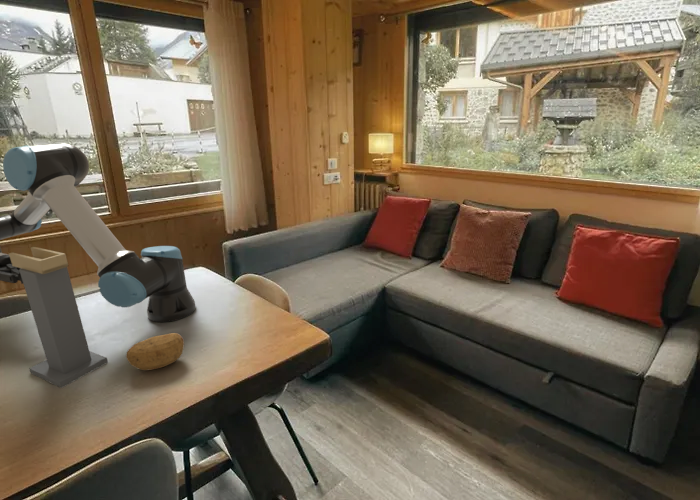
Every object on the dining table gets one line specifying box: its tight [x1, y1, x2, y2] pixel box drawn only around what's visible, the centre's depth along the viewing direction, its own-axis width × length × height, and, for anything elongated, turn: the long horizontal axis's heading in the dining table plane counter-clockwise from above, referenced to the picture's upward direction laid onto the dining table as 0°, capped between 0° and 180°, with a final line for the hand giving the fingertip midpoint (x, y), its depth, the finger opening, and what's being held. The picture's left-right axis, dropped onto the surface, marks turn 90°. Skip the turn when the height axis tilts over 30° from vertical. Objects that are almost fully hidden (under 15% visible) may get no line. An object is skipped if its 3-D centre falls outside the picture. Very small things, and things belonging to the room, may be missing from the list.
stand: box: [8, 246, 109, 389], centre depth 104 cm, size 14×12×32 cm
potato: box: [125, 332, 185, 371], centre depth 108 cm, size 10×14×8 cm
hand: (45, 277), depth 122 cm, fingers closed on rail, 3 cm apart
